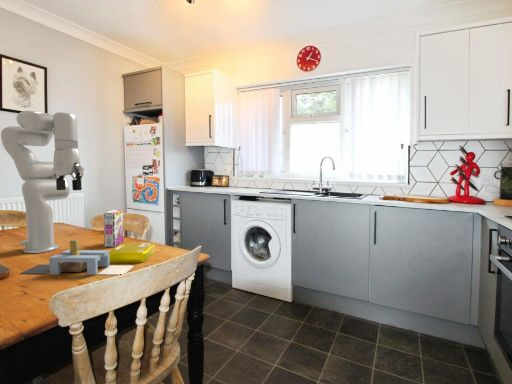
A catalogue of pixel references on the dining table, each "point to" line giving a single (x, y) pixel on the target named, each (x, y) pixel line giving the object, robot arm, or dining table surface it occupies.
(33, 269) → the pad
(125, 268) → the tile
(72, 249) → the tan boxy piece
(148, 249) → the element tile
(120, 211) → the candy bar box
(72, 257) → the tunnel
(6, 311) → the dining table surface
